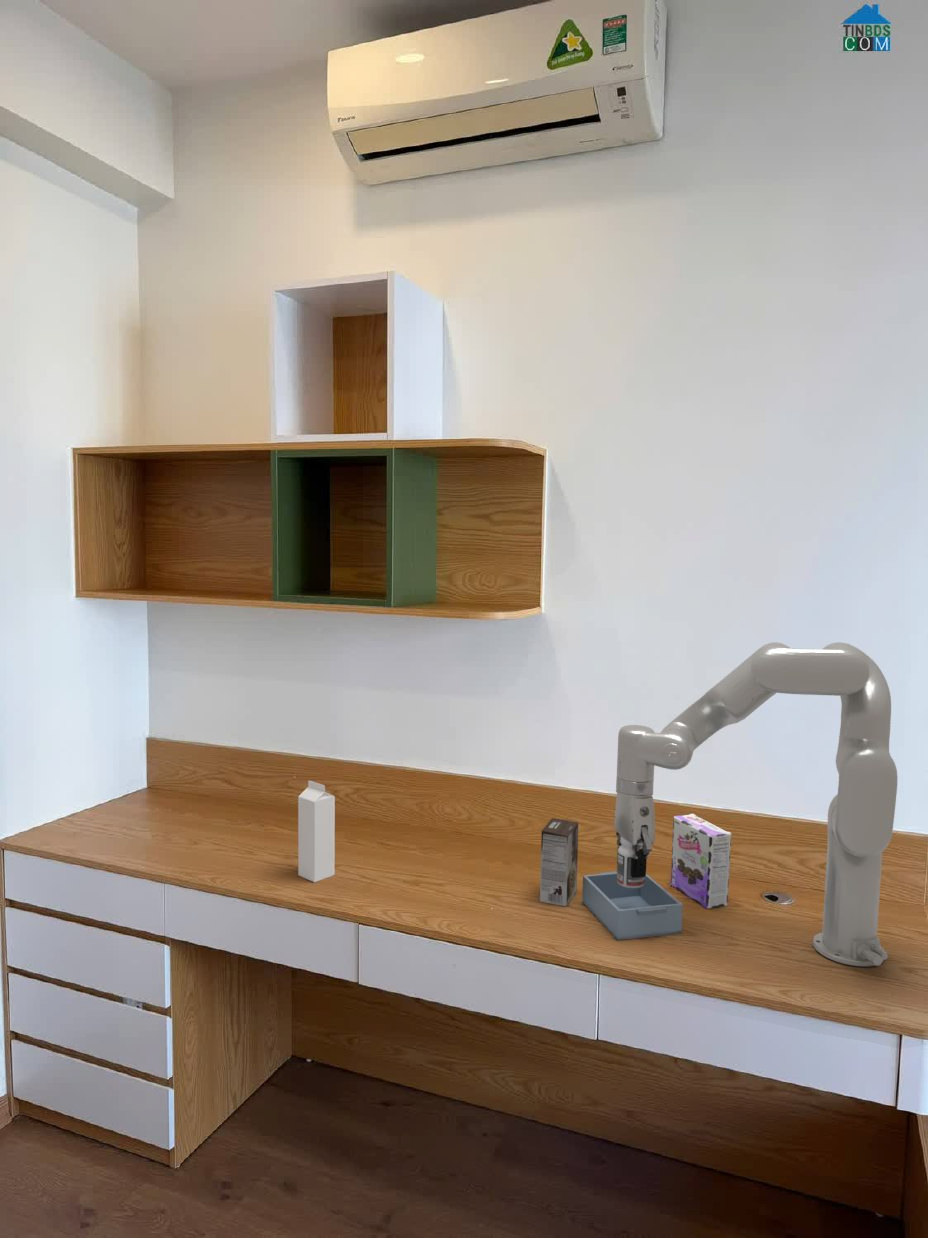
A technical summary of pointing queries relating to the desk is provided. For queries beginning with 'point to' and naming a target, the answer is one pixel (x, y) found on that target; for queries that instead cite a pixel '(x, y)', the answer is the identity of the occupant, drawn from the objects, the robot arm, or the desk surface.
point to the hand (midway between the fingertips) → (631, 869)
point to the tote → (632, 907)
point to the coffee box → (559, 862)
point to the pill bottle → (627, 866)
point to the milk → (316, 833)
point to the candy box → (701, 860)
